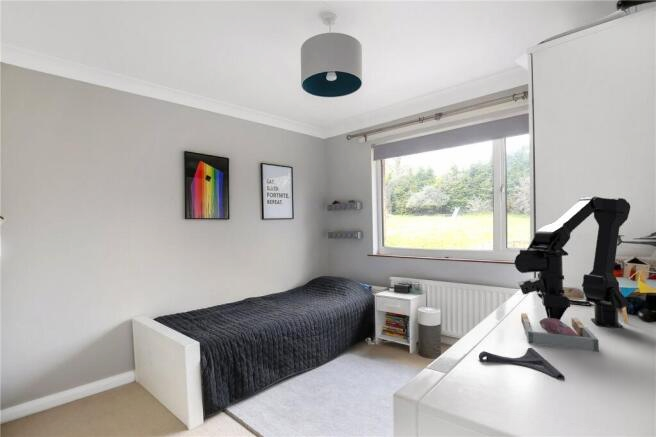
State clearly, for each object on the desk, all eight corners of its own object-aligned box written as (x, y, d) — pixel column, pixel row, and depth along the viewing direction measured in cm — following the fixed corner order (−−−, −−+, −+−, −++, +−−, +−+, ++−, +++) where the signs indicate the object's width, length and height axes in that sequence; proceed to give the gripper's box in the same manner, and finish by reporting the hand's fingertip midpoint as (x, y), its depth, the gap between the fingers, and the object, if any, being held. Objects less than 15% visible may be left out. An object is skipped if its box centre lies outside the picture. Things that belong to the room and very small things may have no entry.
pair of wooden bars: (521, 320, 107) (521, 313, 107) (577, 326, 101) (577, 318, 101) (524, 330, 98) (524, 321, 98) (586, 337, 92) (586, 328, 92)
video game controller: (544, 339, 95) (533, 318, 95) (557, 331, 95) (546, 310, 95) (572, 352, 85) (560, 329, 85) (586, 343, 85) (575, 320, 85)
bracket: (471, 351, 85) (471, 340, 85) (534, 354, 82) (533, 343, 82) (489, 378, 71) (488, 365, 71) (564, 382, 68) (564, 369, 68)
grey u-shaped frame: (524, 330, 98) (524, 320, 98) (587, 337, 91) (586, 327, 91) (528, 343, 88) (528, 331, 88) (598, 351, 81) (598, 339, 82)
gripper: (517, 265, 110) (518, 310, 110) (522, 274, 93) (523, 329, 94) (557, 266, 105) (558, 314, 105) (570, 277, 88) (571, 334, 89)
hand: (551, 322), depth 98 cm, fingers open, 7 cm apart
